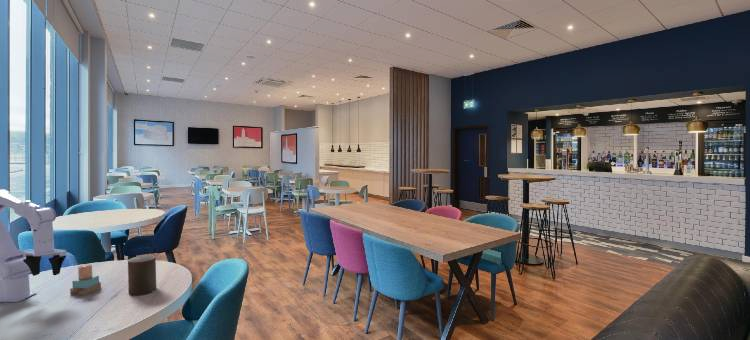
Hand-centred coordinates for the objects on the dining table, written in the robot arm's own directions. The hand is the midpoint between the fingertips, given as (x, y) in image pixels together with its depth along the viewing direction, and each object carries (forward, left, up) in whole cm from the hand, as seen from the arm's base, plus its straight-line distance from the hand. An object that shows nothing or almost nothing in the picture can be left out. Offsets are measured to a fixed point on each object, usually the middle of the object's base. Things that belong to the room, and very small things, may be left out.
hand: (46, 274), depth 137 cm
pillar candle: (+31, +9, -11) cm, 34 cm away
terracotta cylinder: (+8, +9, -5) cm, 13 cm away
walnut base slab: (+7, +9, -11) cm, 16 cm away
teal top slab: (+8, +9, -8) cm, 14 cm away
